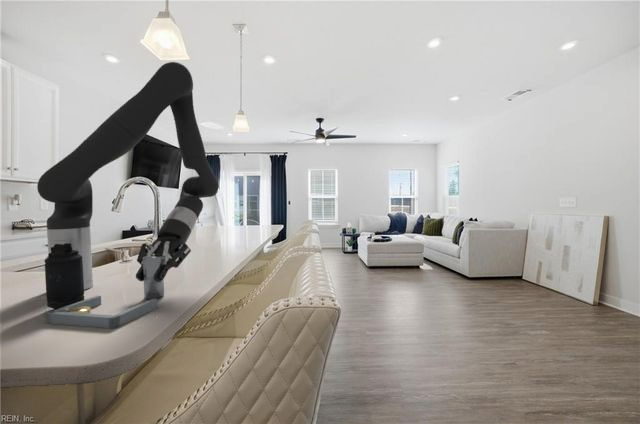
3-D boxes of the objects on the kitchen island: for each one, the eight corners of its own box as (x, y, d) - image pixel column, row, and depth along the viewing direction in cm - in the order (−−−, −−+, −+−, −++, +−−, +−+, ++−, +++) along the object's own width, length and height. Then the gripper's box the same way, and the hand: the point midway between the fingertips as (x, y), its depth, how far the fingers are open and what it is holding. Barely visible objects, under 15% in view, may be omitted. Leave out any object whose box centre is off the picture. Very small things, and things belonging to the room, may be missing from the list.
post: (140, 298, 74) (138, 258, 74) (153, 292, 78) (151, 254, 78) (155, 299, 73) (154, 258, 73) (168, 293, 77) (166, 255, 77)
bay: (45, 323, 60) (45, 313, 60) (97, 304, 71) (96, 295, 71) (114, 328, 57) (114, 318, 57) (157, 307, 68) (157, 298, 68)
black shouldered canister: (92, 303, 72) (88, 241, 71) (66, 314, 65) (62, 245, 65) (64, 303, 72) (61, 241, 72) (36, 313, 66) (32, 245, 65)
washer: (67, 323, 60) (66, 315, 60) (65, 316, 63) (65, 309, 63) (92, 318, 63) (91, 310, 63) (89, 312, 66) (89, 304, 66)
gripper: (149, 217, 84) (113, 271, 72) (195, 217, 81) (165, 273, 69) (163, 234, 89) (132, 286, 78) (207, 234, 86) (181, 288, 75)
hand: (148, 279), depth 74 cm, fingers closed on post, 4 cm apart
